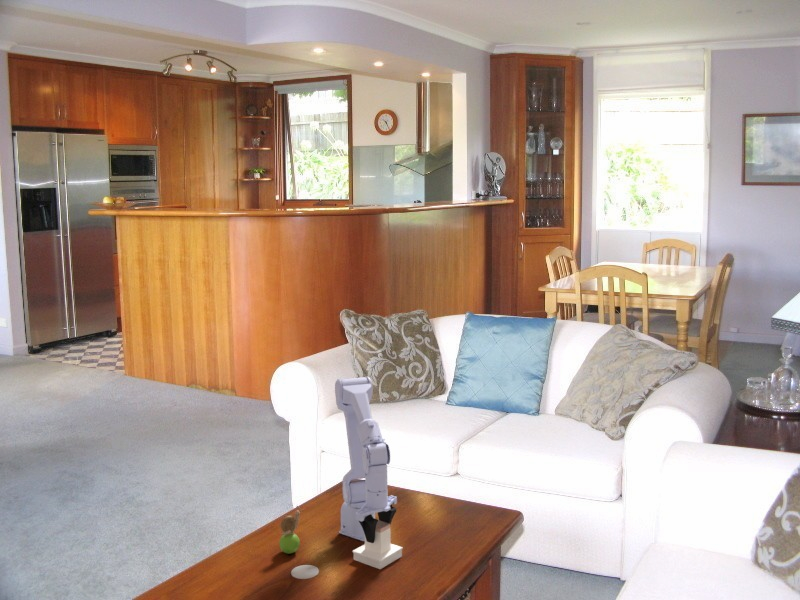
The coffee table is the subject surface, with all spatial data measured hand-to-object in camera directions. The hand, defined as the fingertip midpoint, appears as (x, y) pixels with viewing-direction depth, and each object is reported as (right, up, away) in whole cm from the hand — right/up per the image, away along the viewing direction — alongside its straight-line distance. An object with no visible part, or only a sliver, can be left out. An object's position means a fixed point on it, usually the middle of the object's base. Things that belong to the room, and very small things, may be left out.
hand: (377, 537), depth 218 cm
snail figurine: (-23, -5, +5) cm, 24 cm away
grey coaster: (-18, -7, -6) cm, 21 cm away
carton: (0, -3, 0) cm, 3 cm away
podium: (0, -6, +1) cm, 6 cm away
